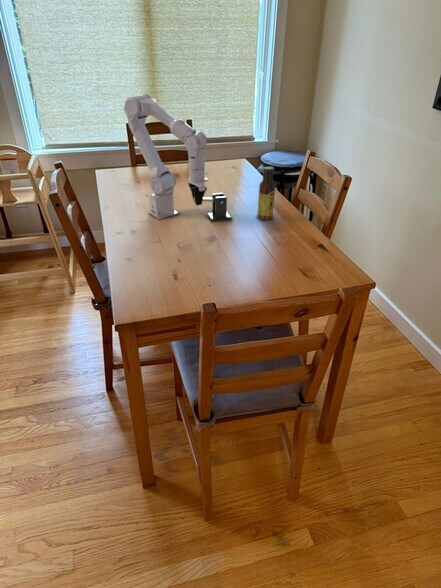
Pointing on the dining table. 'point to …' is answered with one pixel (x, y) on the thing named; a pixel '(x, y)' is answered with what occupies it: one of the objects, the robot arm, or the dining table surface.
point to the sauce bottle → (266, 195)
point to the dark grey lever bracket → (219, 208)
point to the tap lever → (208, 199)
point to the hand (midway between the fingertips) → (197, 203)
